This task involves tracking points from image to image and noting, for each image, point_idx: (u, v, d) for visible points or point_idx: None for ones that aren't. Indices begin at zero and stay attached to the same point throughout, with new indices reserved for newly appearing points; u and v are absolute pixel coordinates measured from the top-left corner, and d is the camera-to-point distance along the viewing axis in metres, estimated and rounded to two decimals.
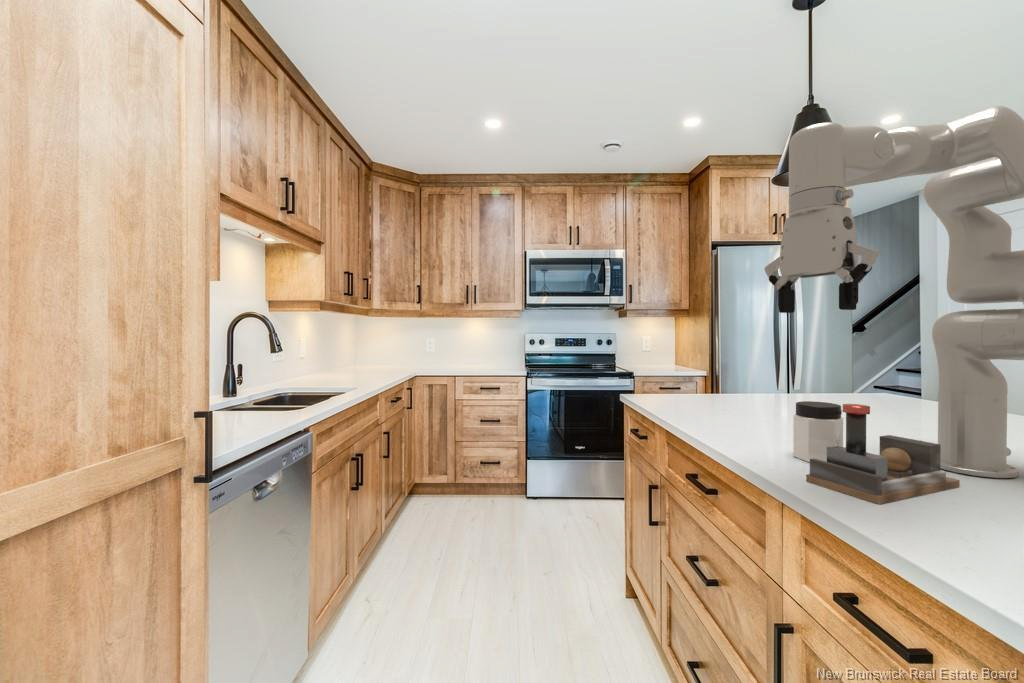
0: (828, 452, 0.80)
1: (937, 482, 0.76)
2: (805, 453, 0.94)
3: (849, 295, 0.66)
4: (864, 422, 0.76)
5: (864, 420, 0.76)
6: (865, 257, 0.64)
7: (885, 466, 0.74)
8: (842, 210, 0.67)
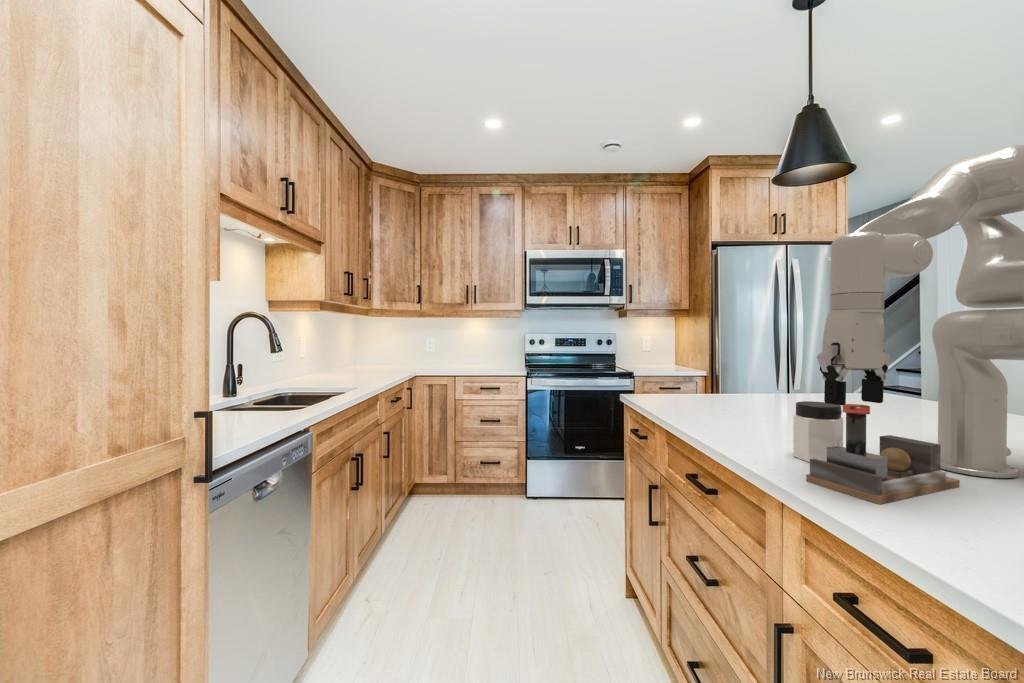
0: (828, 452, 0.80)
1: (937, 482, 0.76)
2: (805, 453, 0.94)
3: None
4: (864, 422, 0.76)
5: (864, 420, 0.76)
6: (886, 360, 0.79)
7: (885, 466, 0.74)
8: None
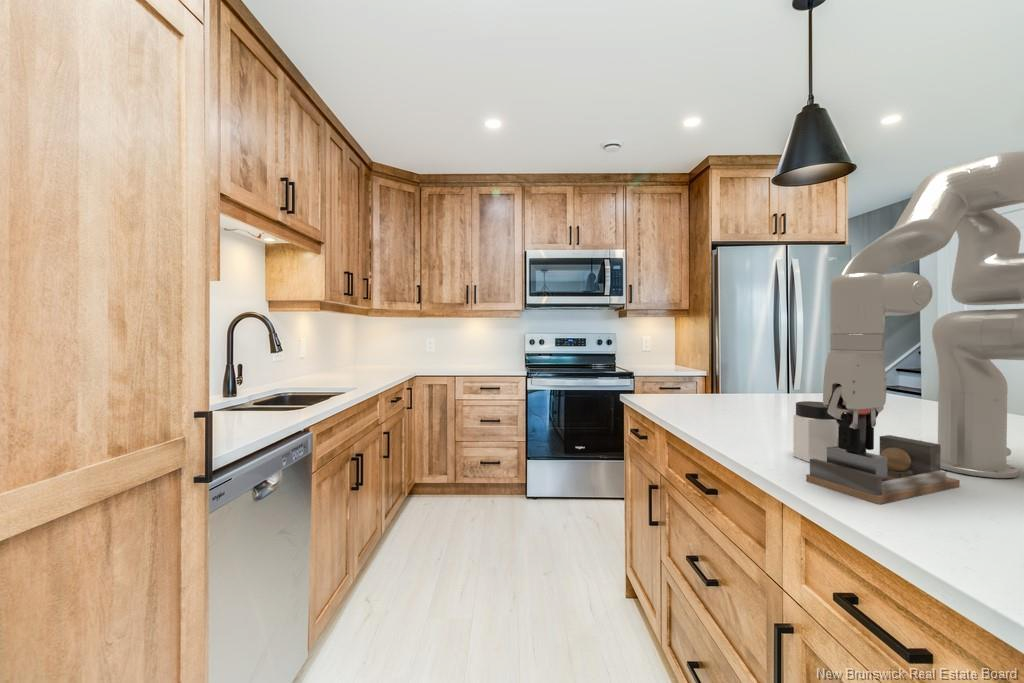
0: (828, 452, 0.80)
1: (937, 482, 0.76)
2: (805, 453, 0.94)
3: None
4: (864, 422, 0.76)
5: (864, 420, 0.76)
6: (879, 408, 0.78)
7: (885, 466, 0.74)
8: None
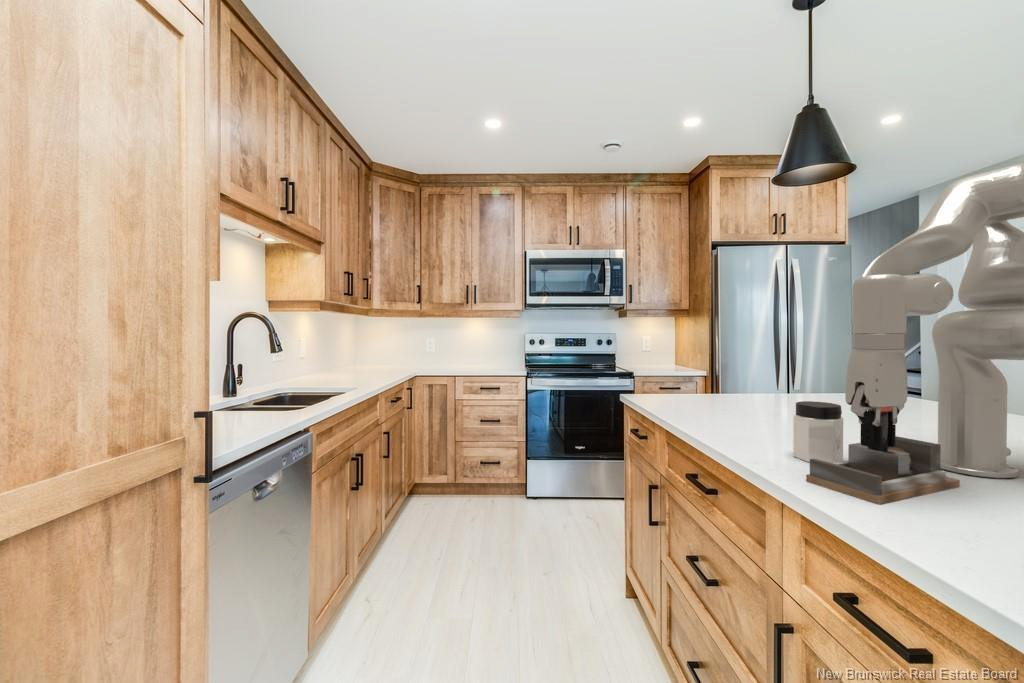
0: (850, 449, 0.82)
1: (937, 482, 0.76)
2: (805, 453, 0.94)
3: None
4: (886, 419, 0.78)
5: (886, 417, 0.78)
6: (900, 406, 0.80)
7: (907, 462, 0.76)
8: None
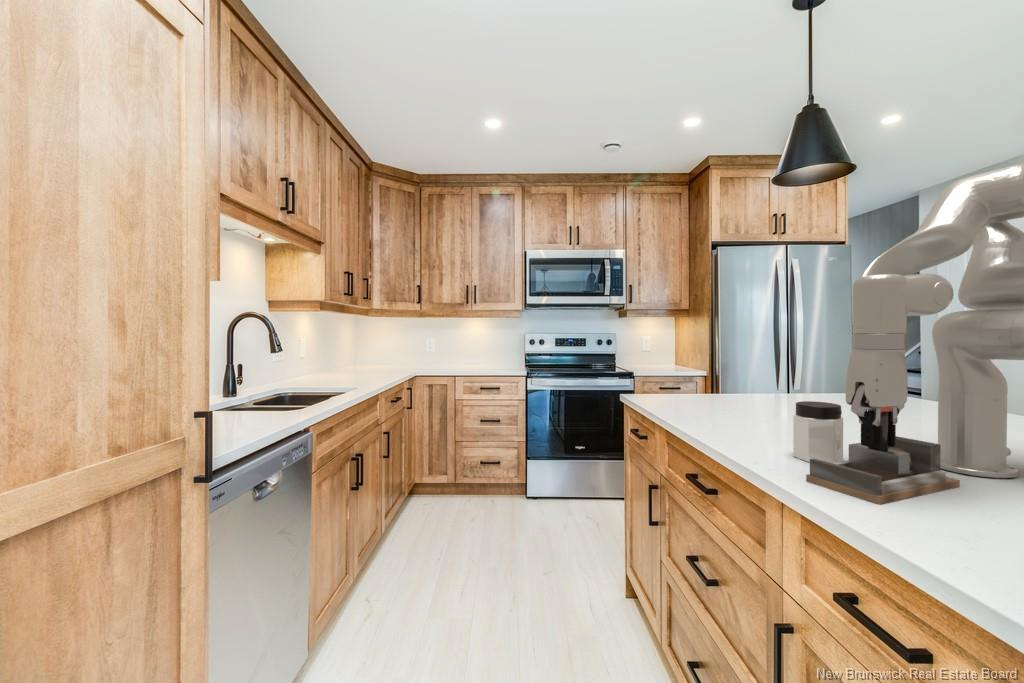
0: (850, 449, 0.82)
1: (937, 482, 0.76)
2: (805, 453, 0.94)
3: None
4: (886, 419, 0.78)
5: (886, 417, 0.78)
6: (900, 406, 0.80)
7: (907, 462, 0.76)
8: None
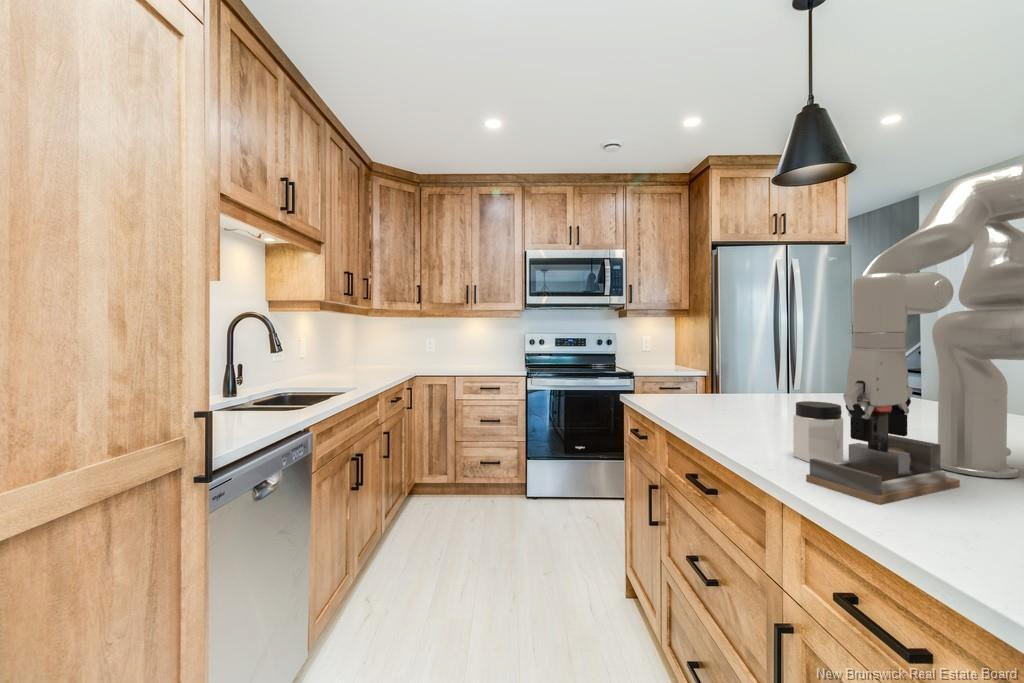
0: (850, 449, 0.82)
1: (937, 482, 0.76)
2: (805, 453, 0.94)
3: None
4: (886, 419, 0.78)
5: (886, 417, 0.78)
6: (909, 393, 0.81)
7: (907, 462, 0.76)
8: None
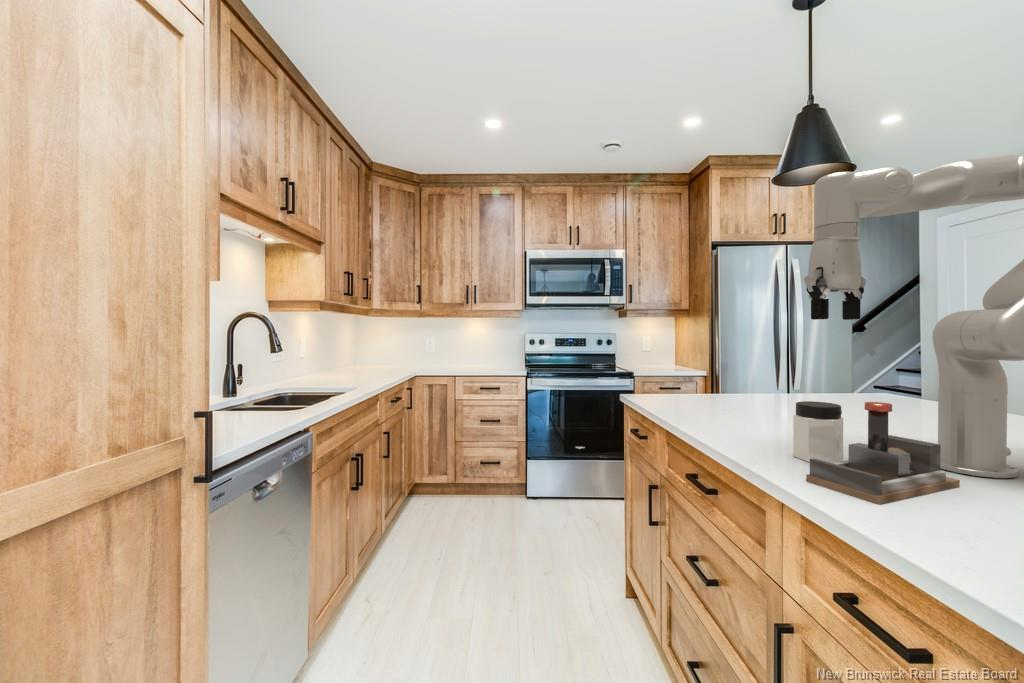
0: (850, 449, 0.82)
1: (937, 482, 0.76)
2: (805, 453, 0.94)
3: None
4: (886, 419, 0.78)
5: (886, 417, 0.78)
6: (862, 283, 0.93)
7: (907, 462, 0.76)
8: None
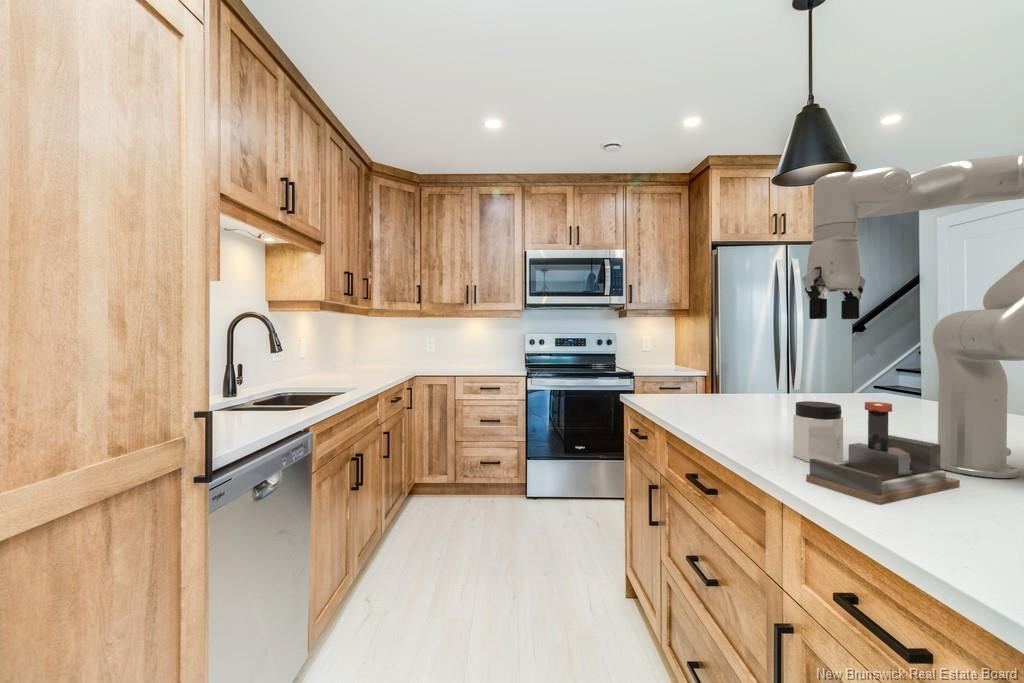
0: (850, 449, 0.82)
1: (937, 482, 0.76)
2: (805, 453, 0.94)
3: None
4: (886, 419, 0.78)
5: (886, 417, 0.78)
6: (861, 283, 0.93)
7: (907, 462, 0.76)
8: None
